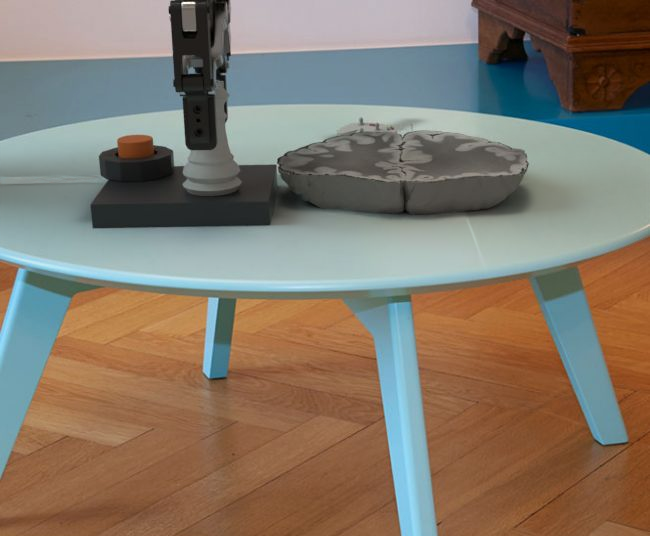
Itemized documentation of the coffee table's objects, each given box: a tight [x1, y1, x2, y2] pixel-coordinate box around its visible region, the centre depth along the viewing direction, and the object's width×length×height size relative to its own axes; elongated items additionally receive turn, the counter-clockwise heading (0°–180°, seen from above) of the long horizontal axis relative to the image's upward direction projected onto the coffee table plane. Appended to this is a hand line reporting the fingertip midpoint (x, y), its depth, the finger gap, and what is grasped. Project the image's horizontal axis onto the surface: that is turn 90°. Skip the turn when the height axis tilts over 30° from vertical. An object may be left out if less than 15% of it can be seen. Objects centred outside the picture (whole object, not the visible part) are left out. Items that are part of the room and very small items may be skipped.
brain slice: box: [276, 129, 530, 215], centre depth 91 cm, size 20×17×3 cm
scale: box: [89, 144, 278, 229], centre depth 88 cm, size 14×12×4 cm
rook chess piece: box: [183, 80, 242, 196], centre depth 84 cm, size 4×4×8 cm
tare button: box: [116, 134, 154, 158], centre depth 90 cm, size 3×3×2 cm
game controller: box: [335, 116, 413, 136], centre depth 107 cm, size 6×12×3 cm, turn 167°
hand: (208, 135), depth 84 cm, fingers open, 7 cm apart
